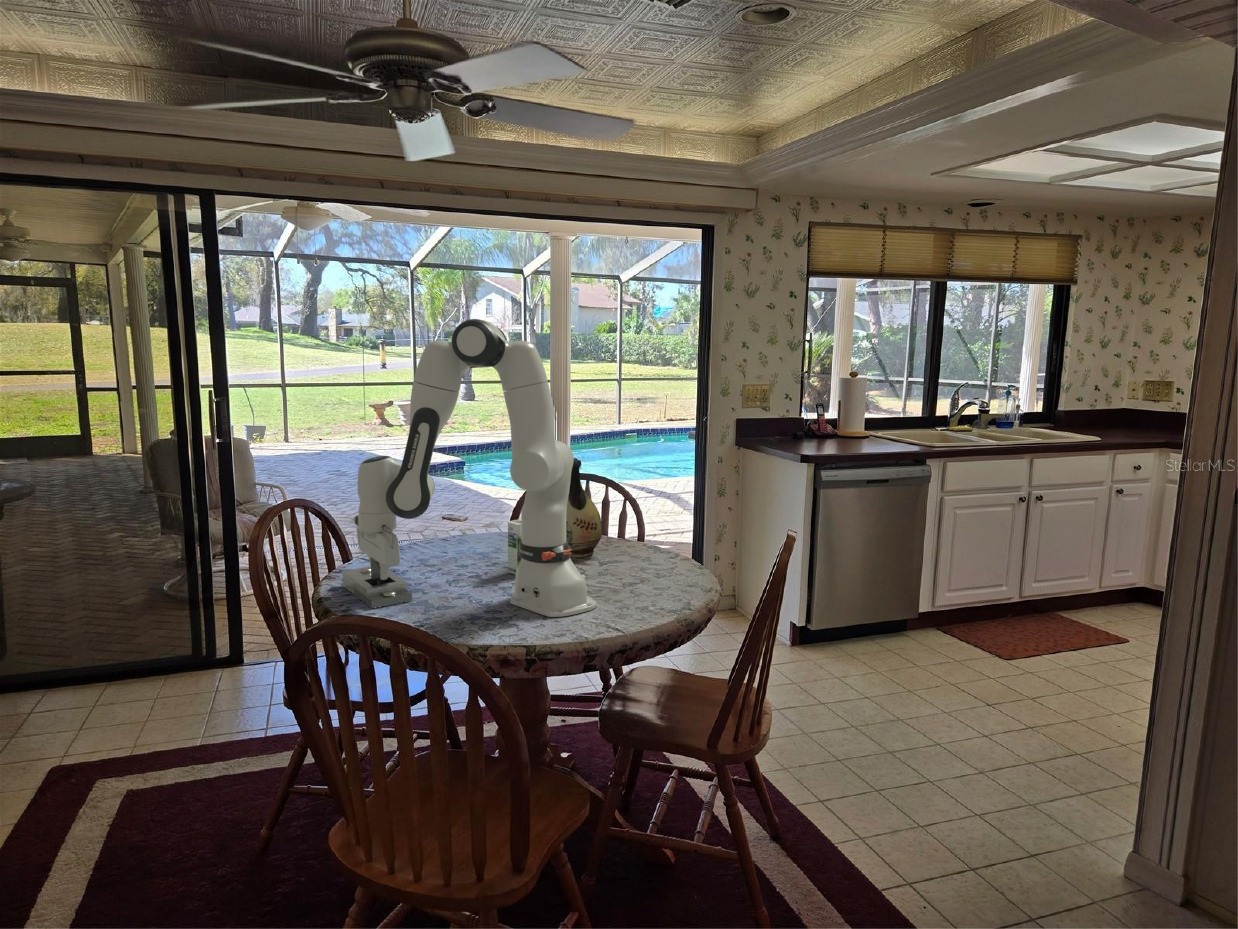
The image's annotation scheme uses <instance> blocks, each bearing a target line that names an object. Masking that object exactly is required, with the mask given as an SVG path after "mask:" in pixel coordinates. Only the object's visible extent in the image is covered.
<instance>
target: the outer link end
mask: <svg viewBox="0 0 1238 929" xmlns="http://www.w3.org/2000/svg"><path fill="white" fill-rule="evenodd" d="M341 574H342V576H341V577H342V586H343V588H344V589H346V588H347V589H348V590H347V589H346V590H347V591H349V592H350V591H351V592H352V593H354V588H356V589H357V590H358V591H359V592H361V593H362V594H363V595H365V596H366V597H367V598H368V597H373V596H378V595H383V592H387V591H395V592H400V591H406V590H408V582H407V581H406V580H404V579H403V578H401V577H400V576H398V575H397V574H395V573H393V572H392V571H390V569H389V570H388V583H387V584H381V585H375V586H372V585H371V566H365V567H360V568H353V569H347V570H342V572H341ZM351 592H350V593H351ZM352 593H351V594H352Z"/></svg>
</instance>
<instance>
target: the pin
mask: <svg viewBox="0 0 1238 929" xmlns="http://www.w3.org/2000/svg"><path fill="white" fill-rule="evenodd" d="M370 562H371V565H370V567H371V585H372V586H375V585H381V584H387V583H388V578H387V579H385V580H381V579H380V578H379V572H380V566H379V563H378V562H377V561H375V560H374V559H373V558H371V557H370V561H369V563H370Z"/></svg>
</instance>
